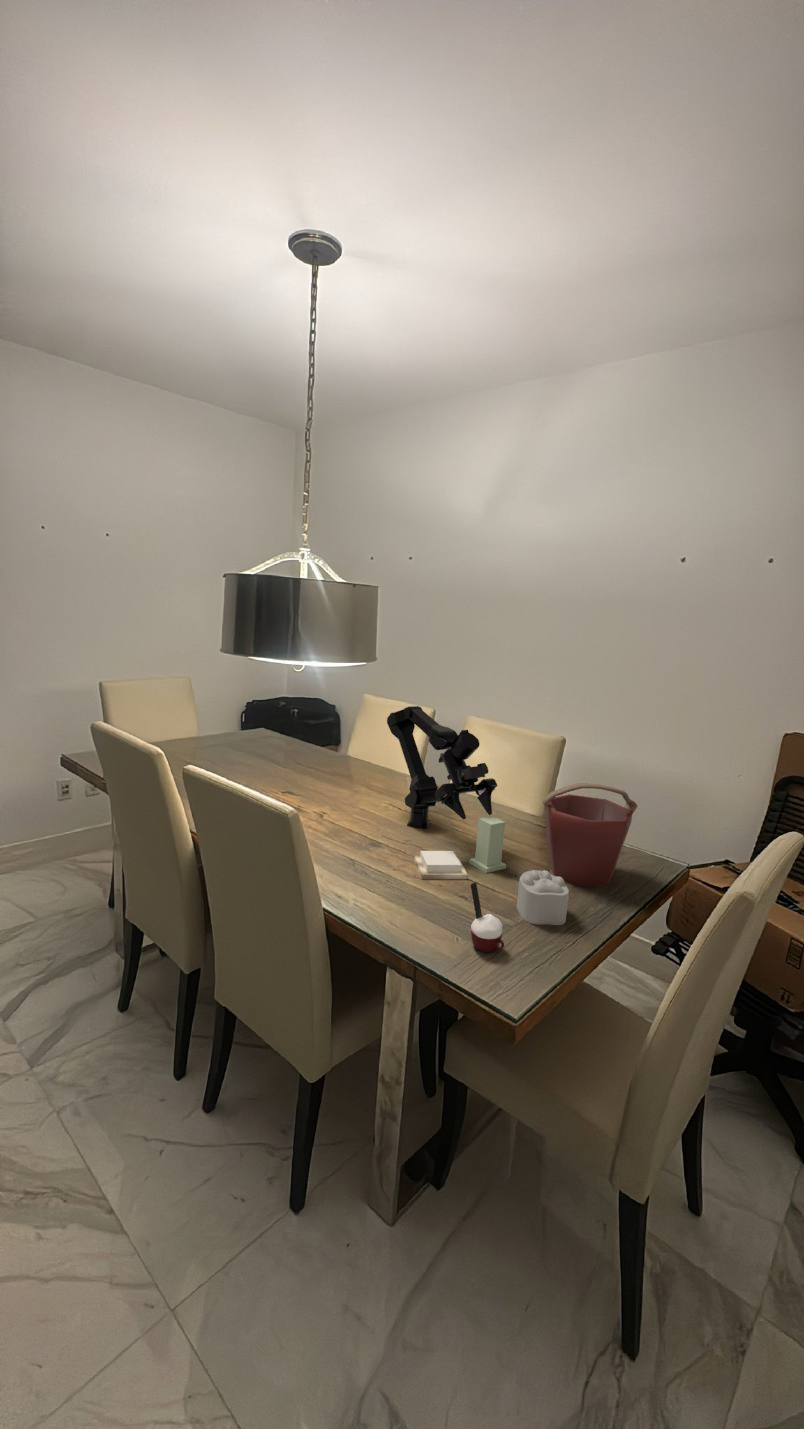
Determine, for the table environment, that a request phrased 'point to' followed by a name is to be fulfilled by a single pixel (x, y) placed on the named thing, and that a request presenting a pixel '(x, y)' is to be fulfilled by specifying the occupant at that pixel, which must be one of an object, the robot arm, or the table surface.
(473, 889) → the cocoa
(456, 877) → the ash base slab
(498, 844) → the sage pillar
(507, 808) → the table surface
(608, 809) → the bucket
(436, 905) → the table surface
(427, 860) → the whitewashed top slab
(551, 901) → the white paw print block
